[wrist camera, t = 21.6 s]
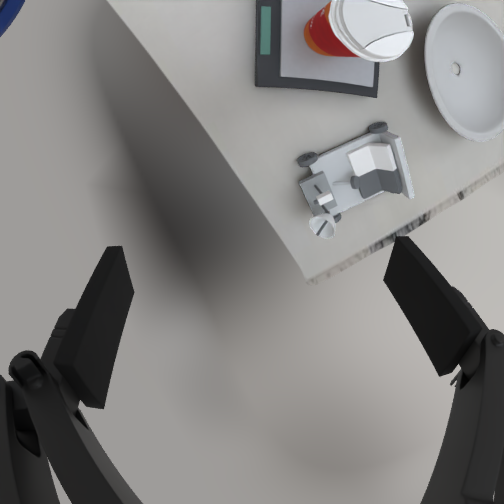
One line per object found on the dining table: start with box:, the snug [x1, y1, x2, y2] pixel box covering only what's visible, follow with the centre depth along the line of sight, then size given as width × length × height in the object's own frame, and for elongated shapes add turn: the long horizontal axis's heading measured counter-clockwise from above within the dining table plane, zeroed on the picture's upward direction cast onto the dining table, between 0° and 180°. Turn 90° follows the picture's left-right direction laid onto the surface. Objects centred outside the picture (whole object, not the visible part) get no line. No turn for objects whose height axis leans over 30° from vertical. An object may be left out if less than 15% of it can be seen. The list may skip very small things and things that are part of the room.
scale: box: [255, 0, 379, 98], centre depth 31 cm, size 17×16×4 cm
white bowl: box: [424, 3, 504, 141], centre depth 32 cm, size 24×24×7 cm
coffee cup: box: [304, 0, 414, 62], centre depth 23 cm, size 8×8×15 cm
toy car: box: [297, 122, 415, 239], centre depth 41 cm, size 18×10×12 cm
